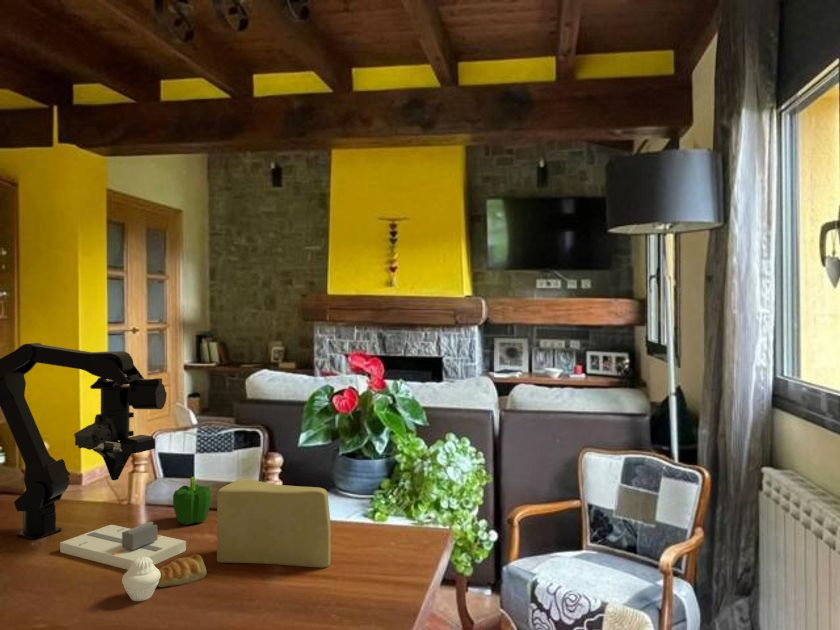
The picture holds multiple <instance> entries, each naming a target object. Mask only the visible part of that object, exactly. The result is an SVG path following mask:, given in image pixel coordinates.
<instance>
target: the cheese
mask: <svg viewBox="0 0 840 630" xmlns="http://www.w3.org/2000/svg"><path fill="white" fill-rule="evenodd" d="M216 499H217V503H216V504H217V505H216V506H217V510H216V511H217V512H216V513H217V515H216V519H217V521H216V523H217V524H216V528H217V529H216V531H217V532H216V533H217V534H216V537H217V538H216V561H217V563H221V564H222V563H223V564H231V563H232V564H259V565H261V564H263V565H264V564H266V565H279V566H291V567H306V568H318V569H319V568H327V567H329V566H330V564H331V541H332V540H331V531H332V530H331V516H330V515H331V513H330V505H329V494H328V491H327V490H326V489H325V488H322V487H319V486H317V487H316V486H315V487H314V486H297V485H284V484H276V483H274V484H273V483H269V482H264V481H259V480H254V479H250V478H239V479H236V480H234V481H232V482H230V483H228V484H227V485H224V486H222V487H221V488H219V489H218V491H217V498H216Z"/></svg>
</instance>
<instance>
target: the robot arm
mask: <svg viewBox="0 0 840 630" xmlns="http://www.w3.org/2000/svg"><path fill="white" fill-rule="evenodd" d="M36 364H43V365H50V366H58V367H63V368H64V367H65V368H69V369H70V368H71V369H77V370H82V371H85V372H87V373H89V374H90V375H92V376H96V377H98V378H97V380H96V381H95V382H94V383H93V384H91V385H90V386H89V387H90V389H91V390H92V389H93V390H100V413H98V414H95V417H94V422H93V423H90V424H88V425H86V426H85V427H83V428H82V429H80V430H77V431H76V432H75V433H74V434H73V436H74V445H75V446H77V447H78V449H86V450H90V451H91V450H92V451H93V452H96V453H97V454H98V455H100V456H101V458H102V459H103V461H104V463H105V466H106V469H107V471H108V474H109V477H110V479H111V481H117V480H119V478H120V476H121V474H122V472H123V470H124V468H125V467H126V464H127V463H128V460H129V459H130V457H131V455H132V454H139V453H144V452H148V451H150V450H155V449H156V439H155V438H154V437H153V436H151V435H146V434H139V435H138V434H137V435H135V433H134V432H135V430H130V419H132V418H134V417H135V416H134V414H135V412H131V411H130V407H132V409H133V410H163V409H164V408H165V405H166V402H167V393H168V392H167V391H166V388H165V387H166V386H165V385H164V384H163V378H162V377H157V378H156V377H154V378H144V376H143V374H141V373H140V371H139V370H138V369H137V367H136V366H135V364H134V360H133V357H132V356H131V354H130V353H129V352H127V351H123V350H122V351H119V350H118V351H117V350H115V351H113V350H112V351H110V350H109V351H85V350H79V349H74V348H73V349H72V348H67V347H66V348H65V347H59V346H53V345H46V344H42V343H40V342H32V343H24V344H21V345H20V346H19V347H18V348H16V349H15V350H14V351H12V352H10V353H8V354H5V355H4V356H3V357H1V358H0V410H1V412H2V415H3V417H4V419H5V421H6V423H7V425H8V429H9V430H10V433H11V435H12V437H13V440H14V442H15V444H16V446H17V449H18V452H19V454H20V456H21V458H22V461H23V463H24V466H25V467H24V475H23V482H24V487H25V491H24V492H23V493H22V494H20V495H19V497H18V498H17V499H16V500H14V502H13V504H14V506H15V510H16V511H17V512H22V519H23V520H22V525H23V526H22V530H20V531H18V532H16V533H15V534H16V536H18V537H22V538H25V539H26V538H27V539H29V540H30V539H31V540H37V539H41V538H44V537H47V536H50V535H53V534H56V533H59V532H62V531H63V528H62V527H60V526H59V527H58V526H57V513H56V504H55V503H56V502H58V501H60V500H61V499H62V497H63V494H64V493H65V492H66V491H67V490H68V487H69V485H70V483H71V482H70V481H71V480H70V477H69V476H71V473H70V472H69V470H68V469H67V466H66V463H65V460H64V458H61V459H59V460H56V459H55V458H53V457H52V456H51V455H50V453H49V451H48V448H47V446H46V444H45V442H44V439H43V436H42V435H41V432H40V430H39V428H38V425H37V423H36V421H35V418H34V416H33V414H32V411H31V409H30V407H29V404H28V402H27V400H26V396H25V393H26V387H27V381H26V377H25V375H26V374H28V373H29V372H30V371H32V370H33V368H34V367H35V366H36Z"/></svg>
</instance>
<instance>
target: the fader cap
mask: <svg viewBox="0 0 840 630" xmlns="http://www.w3.org/2000/svg"><path fill="white" fill-rule="evenodd" d="M129 529H130V530H127V531H124V532H122V547H123V548H127V549H131V550H134V549H137V548H139V547H141V546H144V545H146V544H149V543H151V542H154V541H156V540H157V535H158V525H157V524H154V521H148V522H147V523H144V524H141V525H139V526H136V527H133V528H129Z"/></svg>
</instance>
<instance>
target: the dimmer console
mask: <svg viewBox="0 0 840 630" xmlns="http://www.w3.org/2000/svg"><path fill="white" fill-rule="evenodd" d="M130 529H131V528H128V527H124V526H121V525H120V526H119V525H115V524H109V525H105V526H103V527H100V528H97V529H95V530H92V531H89V532H86V533H84V534H83V533H82V534H80V535H78V536H74V537H72V538H69V539H66V540H64V541H61V542H60V543H59V548H60V549H59V550H60V553H62V554H66V555H69V556H74V557H76V558H81V559H86V560H89V561H93V562H96V563H99V564H104V565H107V566H112V567H115V568H119V569H124V570H127V571H128V570H129V568H130V565H131V562H132V561H134V560H135V559H137V558H140V557H149V558H150V559H151V560H152V561H153V564H154V566H155V565H157V564H159V563H162V562H164V561H166V560H169V559H170V558H172V557H175V556H177V555H179V554H182V553H184V552H186V550H187V541H186V540H183V539H179V538H174V537H171V536H165V535H162V534H157V540H156V541H154V542H151V543H149V544H146V545H144V546H141V547H139V548H137V549H134V550H131V549H127V548H123V547H122V532H124V531H127V530H130Z"/></svg>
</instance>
